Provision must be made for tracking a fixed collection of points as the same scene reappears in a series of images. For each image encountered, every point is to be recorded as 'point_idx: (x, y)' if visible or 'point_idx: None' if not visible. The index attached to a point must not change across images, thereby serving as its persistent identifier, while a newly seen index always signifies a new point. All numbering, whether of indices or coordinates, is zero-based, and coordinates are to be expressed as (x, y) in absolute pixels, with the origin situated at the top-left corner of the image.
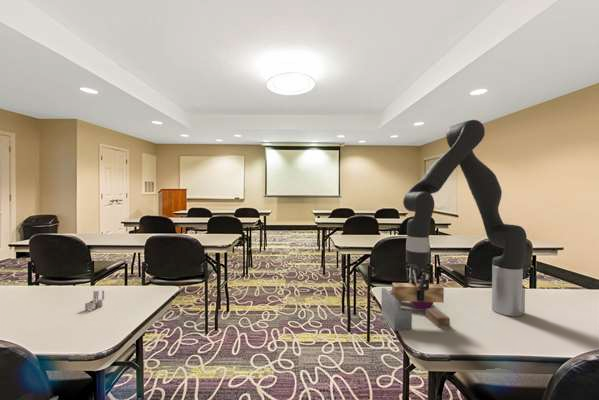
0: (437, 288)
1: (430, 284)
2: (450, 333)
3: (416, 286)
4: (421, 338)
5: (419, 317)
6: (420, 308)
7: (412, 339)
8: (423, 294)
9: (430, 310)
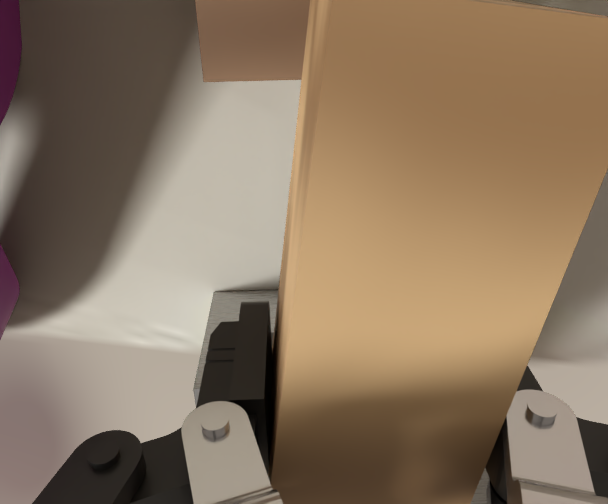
0: (591, 178)
1: (350, 231)
2: (567, 2)
3: (439, 498)
4: (571, 271)
5: (231, 135)
6: (14, 33)
7: (566, 326)
8: (527, 375)
9: (257, 52)
